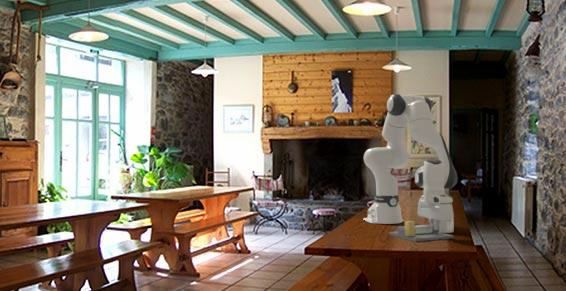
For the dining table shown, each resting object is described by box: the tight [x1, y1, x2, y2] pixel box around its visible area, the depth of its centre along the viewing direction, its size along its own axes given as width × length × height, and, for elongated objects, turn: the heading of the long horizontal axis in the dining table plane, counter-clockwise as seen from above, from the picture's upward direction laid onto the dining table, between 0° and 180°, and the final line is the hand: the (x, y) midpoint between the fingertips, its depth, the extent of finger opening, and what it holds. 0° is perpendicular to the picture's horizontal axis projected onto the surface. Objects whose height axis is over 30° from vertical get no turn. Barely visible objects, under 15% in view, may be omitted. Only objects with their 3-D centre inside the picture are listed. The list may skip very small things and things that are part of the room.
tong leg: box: [415, 225, 439, 234], centre depth 239 cm, size 12×2×3 cm, turn 109°
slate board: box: [388, 230, 454, 242], centre depth 238 cm, size 20×19×1 cm
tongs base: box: [397, 223, 430, 236], centre depth 239 cm, size 6×17×3 cm, turn 111°
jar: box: [434, 218, 455, 234], centre depth 251 cm, size 9×8×12 cm
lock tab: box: [404, 220, 416, 236], centre depth 232 cm, size 3×3×6 cm
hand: (434, 229), depth 235 cm, fingers closed
